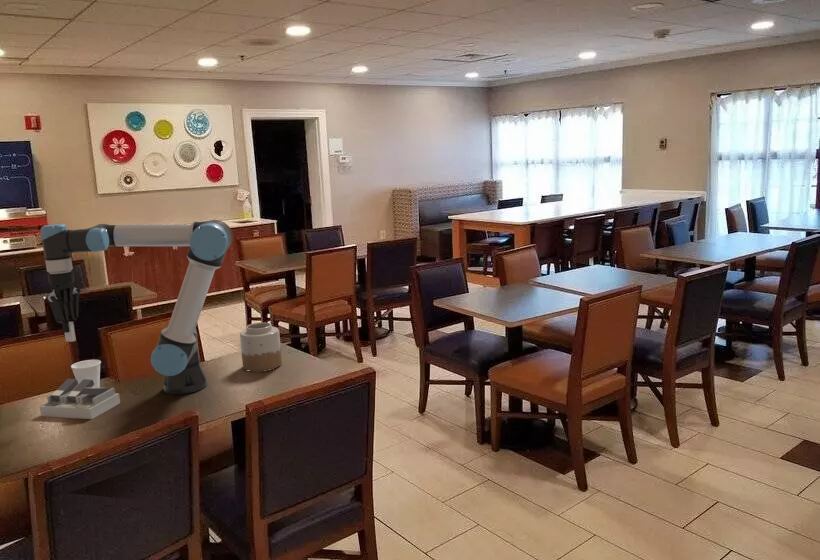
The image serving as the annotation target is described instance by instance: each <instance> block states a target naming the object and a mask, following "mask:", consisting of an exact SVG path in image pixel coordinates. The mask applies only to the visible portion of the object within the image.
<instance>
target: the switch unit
mask: <svg viewBox="0 0 820 560" xmlns="http://www.w3.org/2000/svg"><path fill="white" fill-rule="evenodd" d="M96 388H103V387H101V386H99V387H96ZM110 388H111V389H109V390H107V391H106V392H104V393H102V394H96V395H89V394H82V395H80V396H78V397H76V402H74V401H69V400H68V398H67V396H68V395H69V394H70V393H71V392H72V391H73V390H74V389H73V390H72V391H70V392H68V393H66V394H64V395H62V396H60V397H59V398H60V401H55V400H53V399H52V398H51V395H52V394H53V393H50V394H48V395H47V396H46V399H47V402H45V403H44V404H42V405H40V406H39V411H40V416H41V417H50V418H51V417H52V418H67V419H68V418H69V419H83V420H84V419H85V420H93V419H94V418H97V417H98V416H100V415H102V414H104V413H105V412H107V411H109V410H111V409H112V408H114V407H116V406H117V405H119V404H121V398H120V393H116V389H115V387H110Z"/></svg>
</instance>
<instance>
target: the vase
mask: <svg viewBox="0 0 820 560" xmlns="http://www.w3.org/2000/svg"><path fill="white" fill-rule="evenodd" d="M239 341H240V352H241V360H242V368H243V370H244V369H246V370H250V371H264V370H269V369H273V368H276V367H278V366H280V365H281V364H283V359H282V358H283V357H282V348H281V337H280V330H279V328H278V327H276V326H272V323H269V322H255V323H250V324H248V325H246V328H245V329H242V330H241V331H240V333H239ZM281 366H282V365H281ZM281 366H280V367H281ZM278 368H279V367H278ZM276 369H277V368H276ZM246 370H245V371H246ZM273 370H274V369H273ZM250 371H249V372H250ZM269 371H270V370H269ZM264 372H265V371H264Z"/></svg>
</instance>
